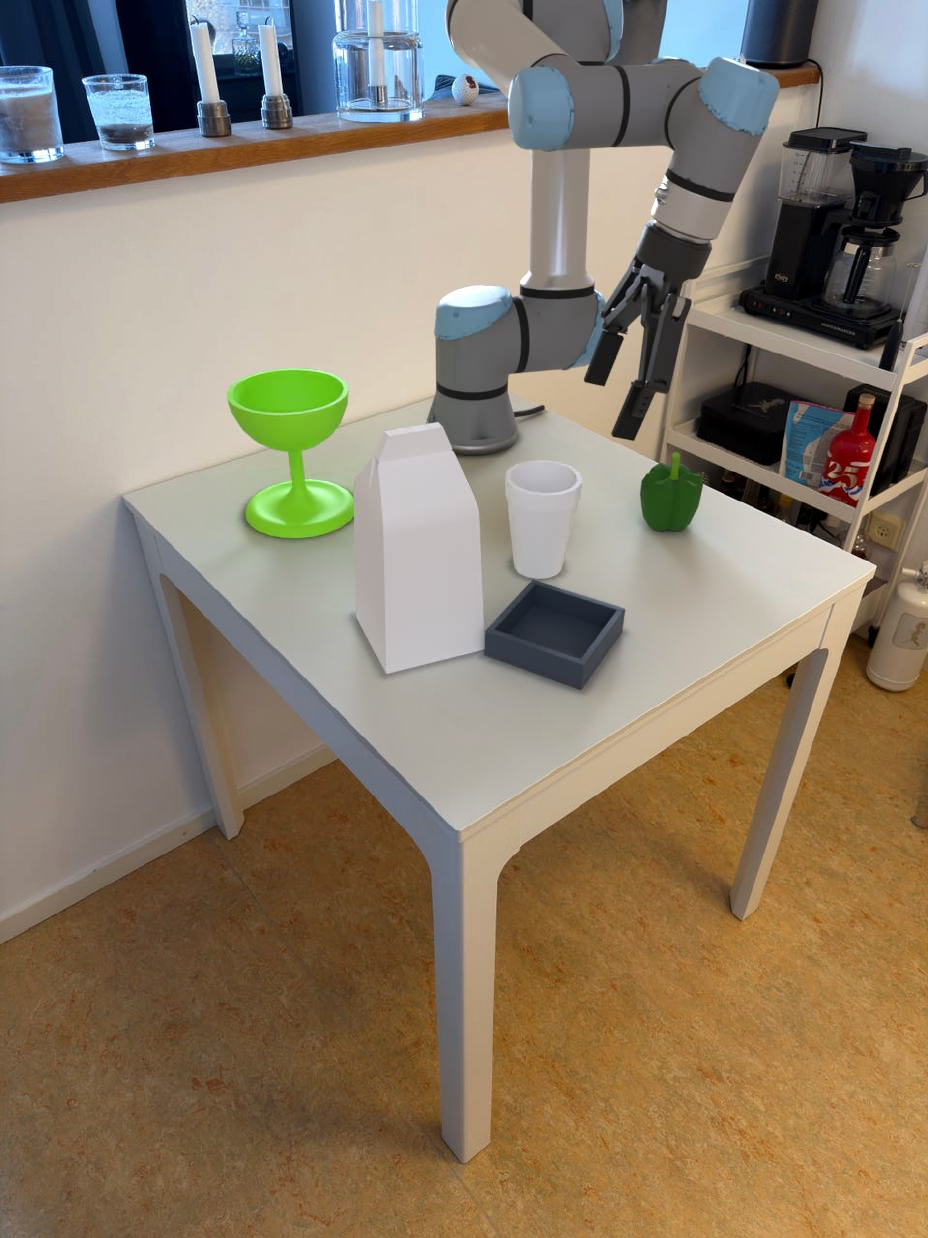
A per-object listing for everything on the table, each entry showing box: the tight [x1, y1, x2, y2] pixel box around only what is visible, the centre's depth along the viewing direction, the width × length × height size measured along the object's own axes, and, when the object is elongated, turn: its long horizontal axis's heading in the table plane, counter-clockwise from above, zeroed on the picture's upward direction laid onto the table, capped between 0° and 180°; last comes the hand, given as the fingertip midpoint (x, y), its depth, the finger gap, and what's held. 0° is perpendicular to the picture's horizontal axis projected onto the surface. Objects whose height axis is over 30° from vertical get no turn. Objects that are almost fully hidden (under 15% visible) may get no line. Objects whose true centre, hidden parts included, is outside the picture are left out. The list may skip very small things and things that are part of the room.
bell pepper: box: [639, 452, 704, 532], centre depth 124 cm, size 8×8×10 cm
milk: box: [353, 422, 485, 675], centre depth 98 cm, size 12×12×26 cm
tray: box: [484, 579, 626, 691], centre depth 104 cm, size 12×12×4 cm
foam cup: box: [504, 459, 583, 580], centre depth 114 cm, size 10×9×13 cm
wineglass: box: [226, 367, 354, 539], centre depth 124 cm, size 16×16×18 cm
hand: (607, 409), depth 108 cm, fingers open, 13 cm apart
